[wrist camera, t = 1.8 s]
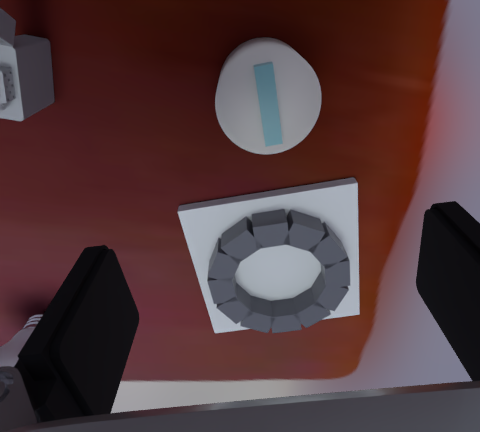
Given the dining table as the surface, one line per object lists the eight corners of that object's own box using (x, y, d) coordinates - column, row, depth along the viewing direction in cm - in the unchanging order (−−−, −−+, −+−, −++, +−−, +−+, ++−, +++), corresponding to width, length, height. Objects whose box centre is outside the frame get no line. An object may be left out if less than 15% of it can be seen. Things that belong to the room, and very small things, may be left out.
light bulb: (79, 296, 35) (19, 408, 25) (85, 343, 38) (35, 458, 28) (6, 289, 34) (-83, 401, 25) (19, 338, 37) (-55, 453, 28)
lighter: (54, 103, 25) (-13, 143, 19) (28, 99, 25) (-49, 137, 18) (45, -15, 22) (-42, -21, 15) (15, -21, 22) (-88, -30, 15)
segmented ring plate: (179, 205, 30) (173, 225, 27) (353, 177, 28) (365, 195, 26) (215, 325, 37) (213, 350, 34) (356, 306, 36) (365, 330, 33)
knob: (210, 46, 24) (203, 59, 19) (302, 28, 23) (320, 37, 18) (227, 135, 27) (226, 166, 22) (310, 121, 26) (326, 149, 21)
